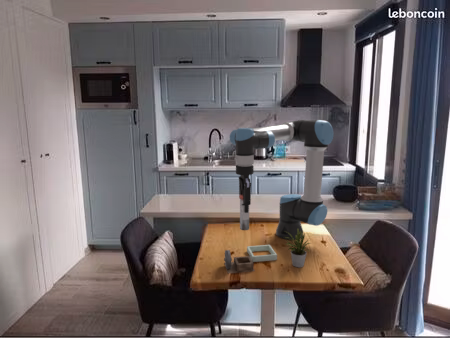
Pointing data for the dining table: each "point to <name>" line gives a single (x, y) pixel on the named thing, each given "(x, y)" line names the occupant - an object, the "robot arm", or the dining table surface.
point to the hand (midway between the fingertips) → (244, 217)
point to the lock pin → (243, 223)
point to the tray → (261, 257)
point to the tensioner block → (238, 263)
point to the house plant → (298, 249)
